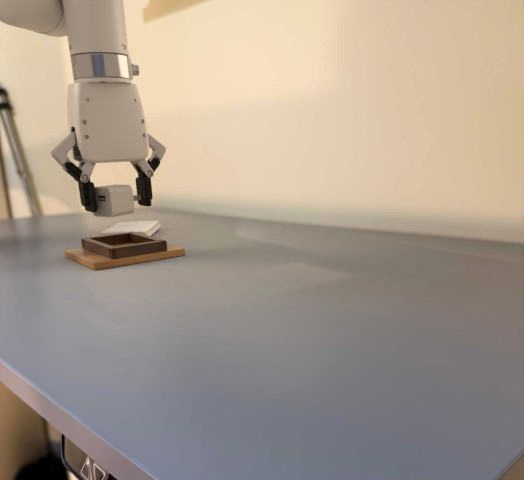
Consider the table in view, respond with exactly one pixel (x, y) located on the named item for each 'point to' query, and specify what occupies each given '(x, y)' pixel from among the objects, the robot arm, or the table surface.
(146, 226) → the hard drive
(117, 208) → the usb wall charger
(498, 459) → the table surface
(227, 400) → the table surface
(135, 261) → the wooden tray
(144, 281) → the table surface
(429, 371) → the table surface
